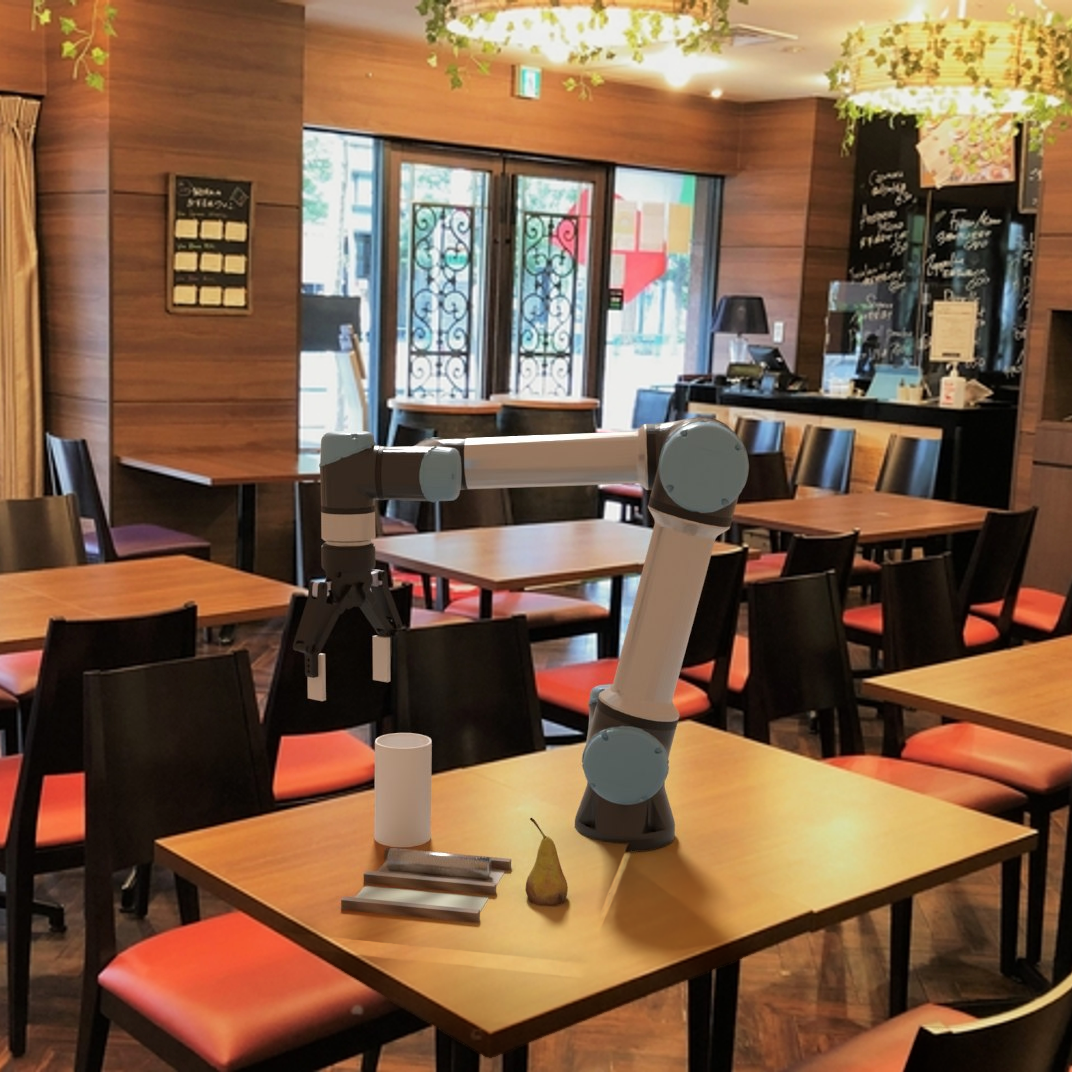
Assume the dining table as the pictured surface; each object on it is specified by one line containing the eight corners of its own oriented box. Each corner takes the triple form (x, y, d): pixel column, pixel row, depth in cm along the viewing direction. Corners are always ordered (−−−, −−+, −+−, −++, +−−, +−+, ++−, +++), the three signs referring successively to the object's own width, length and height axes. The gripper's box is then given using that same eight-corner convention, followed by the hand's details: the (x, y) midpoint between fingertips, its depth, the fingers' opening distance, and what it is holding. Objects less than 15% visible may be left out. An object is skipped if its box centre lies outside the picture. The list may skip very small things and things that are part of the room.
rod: (491, 874, 206) (491, 853, 205) (486, 882, 203) (486, 861, 202) (393, 865, 208) (393, 844, 208) (386, 873, 205) (386, 852, 205)
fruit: (536, 919, 194) (538, 830, 192) (518, 903, 199) (520, 816, 197) (575, 913, 196) (577, 825, 194) (557, 898, 201) (559, 812, 200)
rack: (510, 876, 209) (511, 858, 208) (477, 932, 189) (477, 913, 189) (386, 865, 212) (386, 847, 212) (341, 919, 193) (341, 899, 192)
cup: (421, 858, 215) (422, 750, 213) (367, 853, 217) (367, 745, 214) (436, 839, 223) (438, 735, 221) (384, 834, 225) (384, 731, 222)
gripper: (386, 529, 222) (387, 669, 225) (264, 549, 202) (267, 703, 205) (425, 534, 218) (426, 676, 221) (305, 555, 198) (307, 711, 201)
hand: (350, 690), depth 213 cm, fingers open, 13 cm apart
